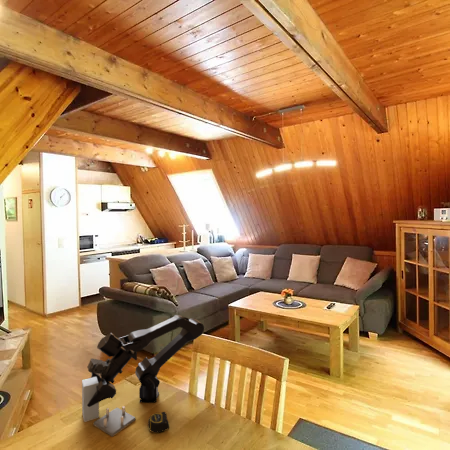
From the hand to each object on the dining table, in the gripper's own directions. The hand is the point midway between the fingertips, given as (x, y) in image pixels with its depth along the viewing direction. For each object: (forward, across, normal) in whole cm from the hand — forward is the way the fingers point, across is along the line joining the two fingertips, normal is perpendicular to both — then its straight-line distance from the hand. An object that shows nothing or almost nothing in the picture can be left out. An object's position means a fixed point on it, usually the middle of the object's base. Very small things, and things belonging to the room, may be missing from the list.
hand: (86, 399), depth 117 cm
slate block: (+4, 0, +6) cm, 7 cm away
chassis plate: (-1, +8, +11) cm, 13 cm away
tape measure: (-10, +18, +20) cm, 29 cm away
